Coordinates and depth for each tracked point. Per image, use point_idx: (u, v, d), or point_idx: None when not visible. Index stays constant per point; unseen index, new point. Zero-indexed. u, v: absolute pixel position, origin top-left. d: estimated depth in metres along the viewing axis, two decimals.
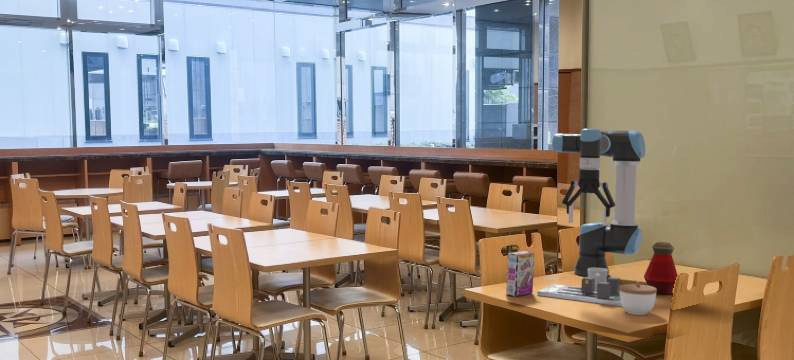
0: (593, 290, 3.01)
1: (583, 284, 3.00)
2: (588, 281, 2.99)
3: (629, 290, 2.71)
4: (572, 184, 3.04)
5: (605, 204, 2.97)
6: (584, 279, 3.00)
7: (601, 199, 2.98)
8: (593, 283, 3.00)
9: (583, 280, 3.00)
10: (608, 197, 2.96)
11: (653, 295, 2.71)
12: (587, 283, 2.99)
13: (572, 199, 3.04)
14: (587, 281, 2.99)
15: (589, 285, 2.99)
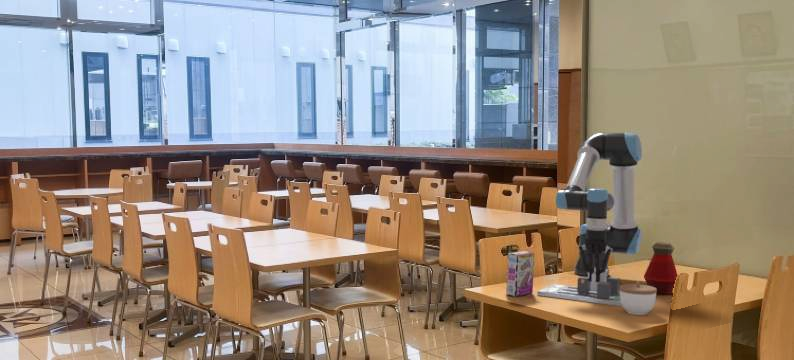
0: (589, 289, 3.01)
1: (579, 284, 3.01)
2: (584, 281, 3.00)
3: (629, 290, 2.71)
4: (581, 249, 3.01)
5: (597, 269, 2.98)
6: (580, 279, 3.01)
7: (597, 263, 2.98)
8: (589, 283, 3.01)
9: (579, 280, 3.01)
10: (604, 263, 2.96)
11: (653, 295, 2.71)
12: (583, 282, 3.00)
13: (591, 264, 2.99)
14: (583, 281, 3.00)
15: (585, 285, 3.00)
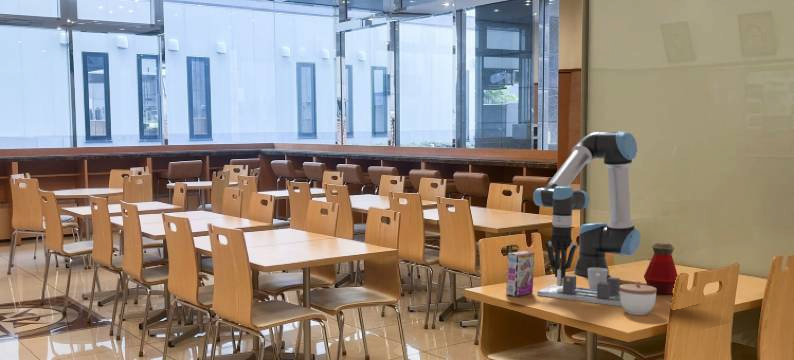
0: (574, 288, 3.04)
1: (565, 282, 3.04)
2: (569, 279, 3.03)
3: (629, 290, 2.71)
4: (547, 245, 3.08)
5: (562, 265, 3.05)
6: (565, 277, 3.04)
7: (562, 259, 3.05)
8: (574, 281, 3.04)
9: (564, 278, 3.04)
10: (569, 259, 3.03)
11: (653, 295, 2.71)
12: (568, 280, 3.03)
13: (556, 260, 3.06)
14: (568, 279, 3.03)
15: (570, 283, 3.03)
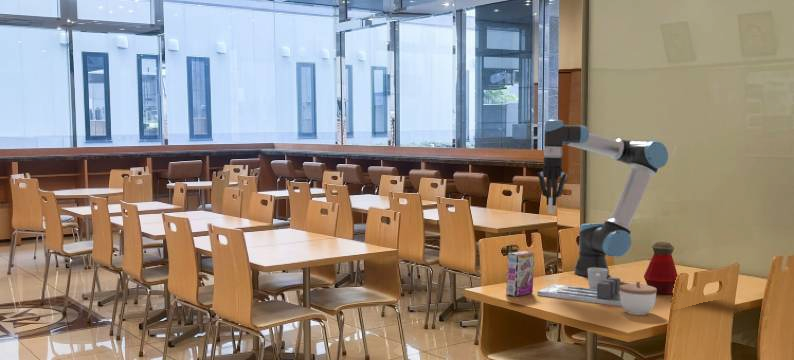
0: (613, 293, 2.96)
1: None
2: None
3: (629, 290, 2.71)
4: (539, 175, 3.29)
5: (553, 193, 3.26)
6: (604, 281, 2.96)
7: (553, 188, 3.26)
8: (613, 286, 2.96)
9: None
10: (559, 187, 3.24)
11: (653, 295, 2.71)
12: None
13: (548, 189, 3.27)
14: None
15: None
